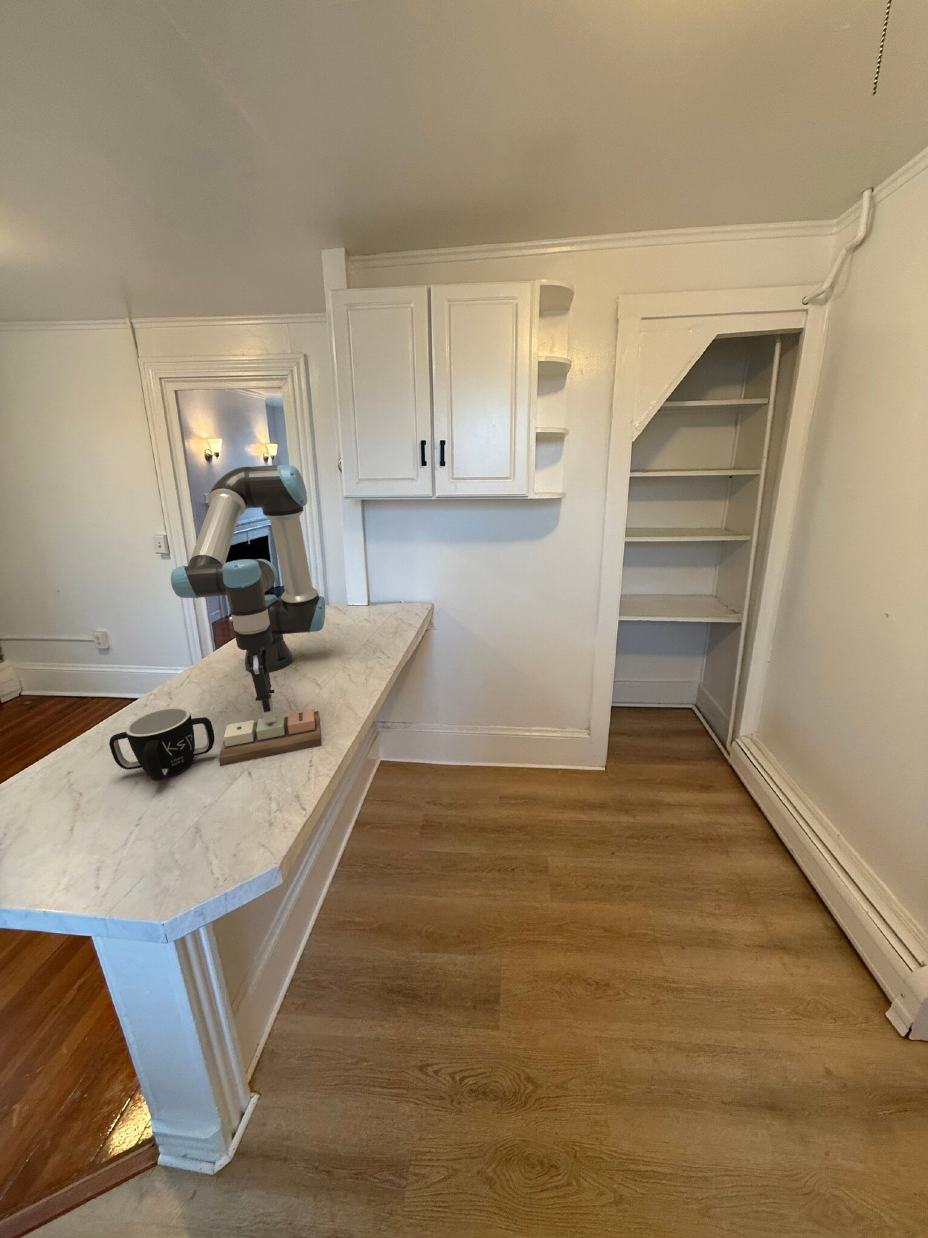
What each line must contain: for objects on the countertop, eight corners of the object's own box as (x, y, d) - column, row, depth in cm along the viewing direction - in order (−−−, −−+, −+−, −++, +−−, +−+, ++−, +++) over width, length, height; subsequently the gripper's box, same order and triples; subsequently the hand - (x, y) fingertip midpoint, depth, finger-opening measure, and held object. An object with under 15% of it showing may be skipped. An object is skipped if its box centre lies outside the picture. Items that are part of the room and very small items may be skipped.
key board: (228, 734, 119) (227, 727, 118) (319, 717, 125) (318, 710, 125) (220, 766, 106) (218, 758, 106) (321, 745, 113) (320, 737, 112)
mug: (151, 800, 96) (136, 749, 92) (114, 776, 104) (99, 728, 101) (225, 758, 109) (215, 712, 106) (187, 740, 117) (176, 696, 114)
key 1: (229, 733, 115) (227, 723, 114) (255, 728, 117) (253, 719, 116) (225, 746, 110) (223, 736, 109) (253, 741, 111) (251, 731, 110)
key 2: (260, 727, 117) (258, 718, 116) (285, 722, 119) (283, 713, 118) (258, 740, 112) (255, 730, 111) (284, 735, 113) (283, 725, 112)
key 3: (289, 722, 119) (288, 712, 118) (314, 717, 121) (313, 708, 120) (289, 734, 114) (287, 724, 113) (315, 729, 115) (313, 719, 114)
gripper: (238, 622, 112) (255, 711, 119) (230, 640, 100) (250, 738, 107) (271, 618, 114) (287, 706, 121) (268, 635, 102) (285, 731, 109)
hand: (270, 720), depth 114 cm, fingers closed
